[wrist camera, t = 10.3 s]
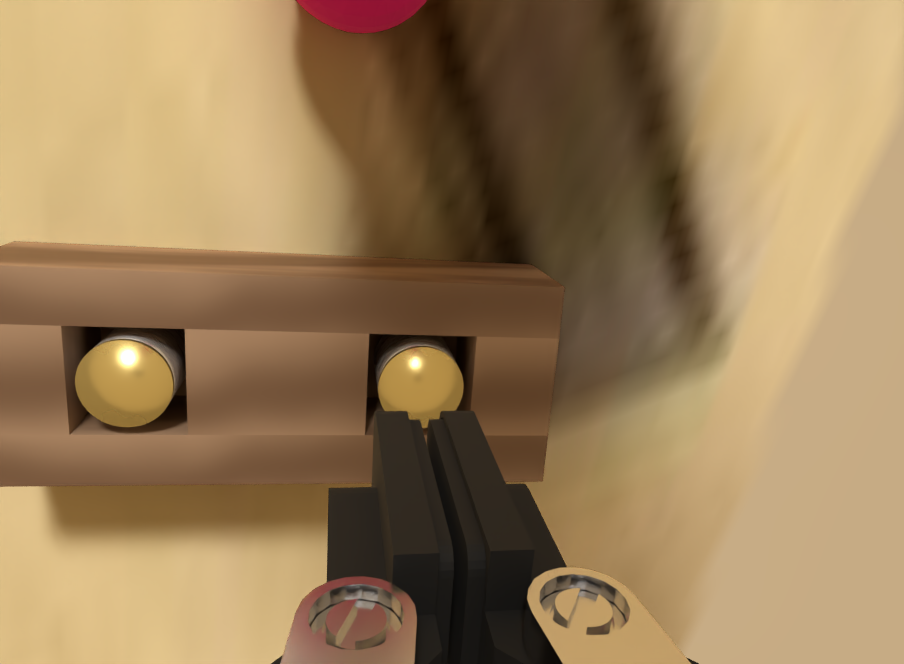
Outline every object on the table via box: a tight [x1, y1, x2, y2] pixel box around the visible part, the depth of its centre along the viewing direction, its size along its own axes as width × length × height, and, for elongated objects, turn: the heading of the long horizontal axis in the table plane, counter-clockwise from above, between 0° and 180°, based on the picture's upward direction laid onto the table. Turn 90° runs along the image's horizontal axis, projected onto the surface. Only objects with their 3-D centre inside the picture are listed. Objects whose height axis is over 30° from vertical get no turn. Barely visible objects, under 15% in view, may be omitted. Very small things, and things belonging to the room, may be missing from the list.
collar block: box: [0, 241, 565, 487], centre depth 35 cm, size 10×26×6 cm, turn 86°
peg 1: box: [75, 327, 186, 427], centre depth 33 cm, size 4×4×4 cm
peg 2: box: [373, 334, 464, 428], centre depth 35 cm, size 4×4×4 cm
